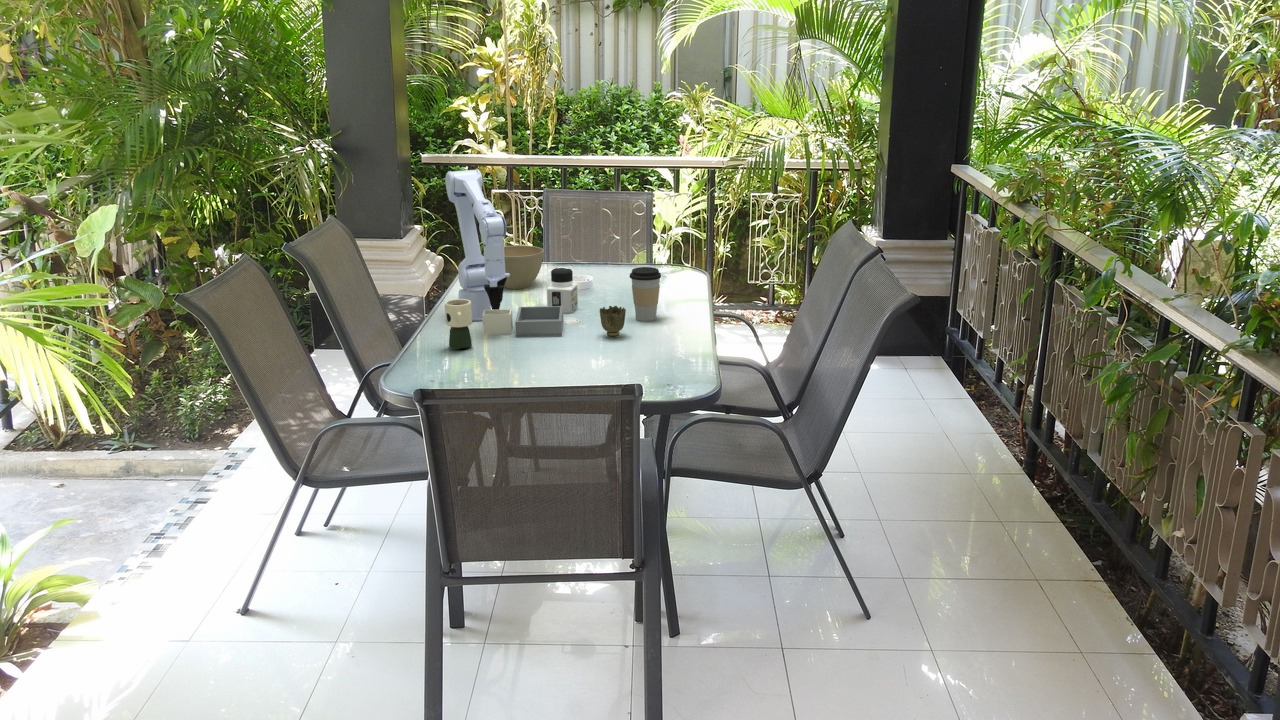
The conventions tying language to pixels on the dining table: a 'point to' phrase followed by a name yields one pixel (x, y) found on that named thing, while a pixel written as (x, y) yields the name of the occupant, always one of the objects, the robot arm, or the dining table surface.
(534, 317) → the grey crate
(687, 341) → the dining table surface
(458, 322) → the character mug
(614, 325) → the cup
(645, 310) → the coffee cup
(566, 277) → the container
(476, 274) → the robot arm
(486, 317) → the cream crate
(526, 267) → the flower pot
